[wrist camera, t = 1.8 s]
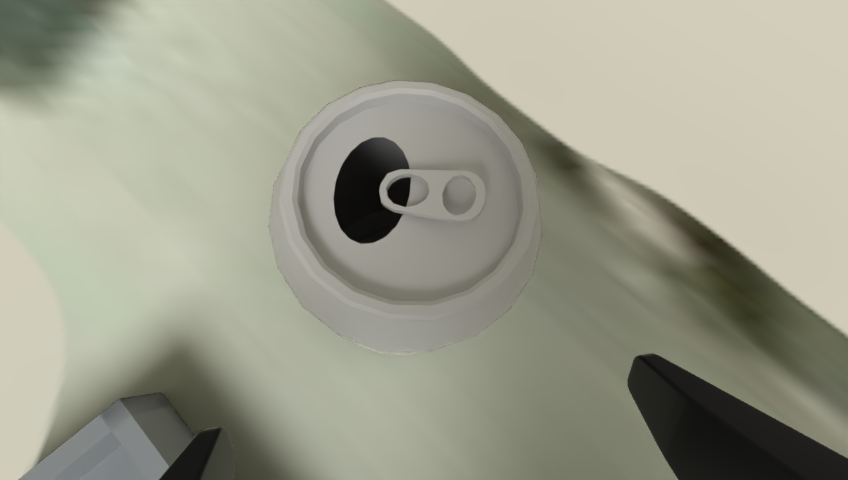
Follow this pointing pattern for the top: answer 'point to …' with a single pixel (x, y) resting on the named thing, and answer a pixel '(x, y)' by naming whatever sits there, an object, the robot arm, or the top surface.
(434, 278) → the can
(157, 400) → the tray
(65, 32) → the top surface
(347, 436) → the top surface
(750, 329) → the top surface
